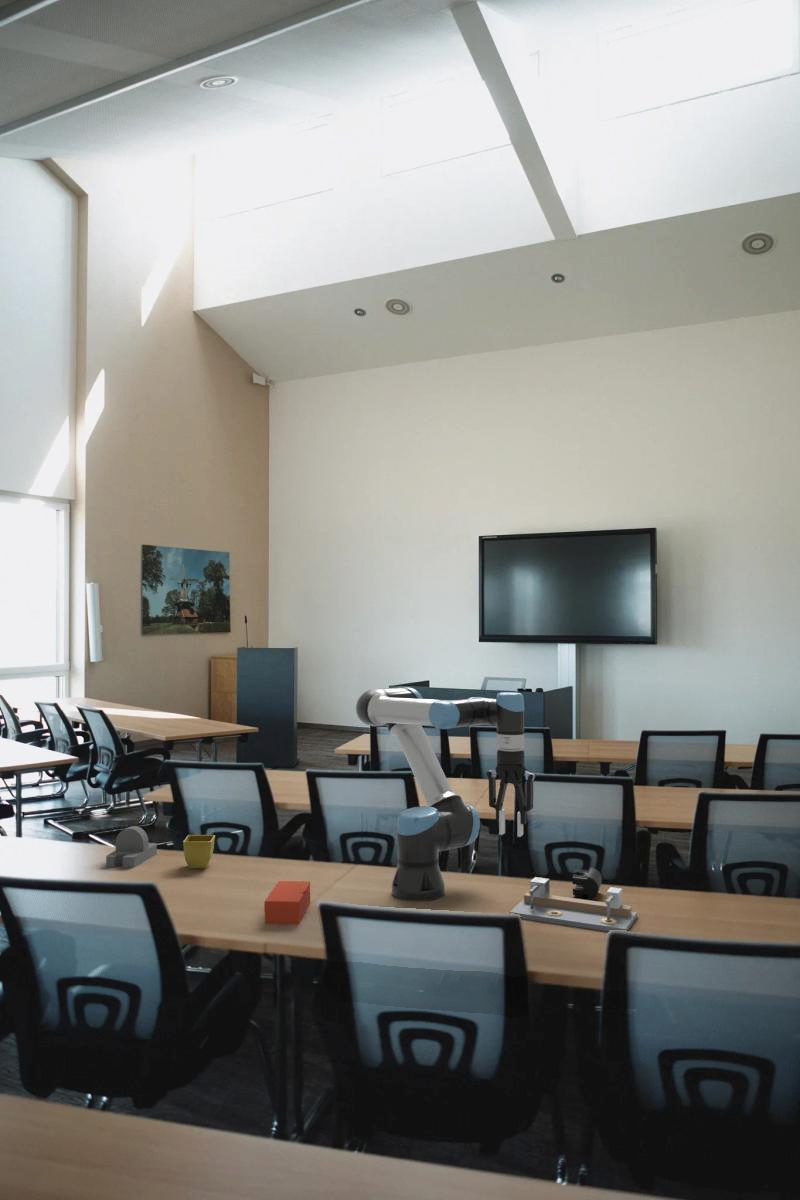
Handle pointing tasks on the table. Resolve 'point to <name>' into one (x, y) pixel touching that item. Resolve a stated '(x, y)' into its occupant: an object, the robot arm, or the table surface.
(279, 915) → the brick
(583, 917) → the board
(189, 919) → the table surface
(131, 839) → the bracket
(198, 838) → the flower pot
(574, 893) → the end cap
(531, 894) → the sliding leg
